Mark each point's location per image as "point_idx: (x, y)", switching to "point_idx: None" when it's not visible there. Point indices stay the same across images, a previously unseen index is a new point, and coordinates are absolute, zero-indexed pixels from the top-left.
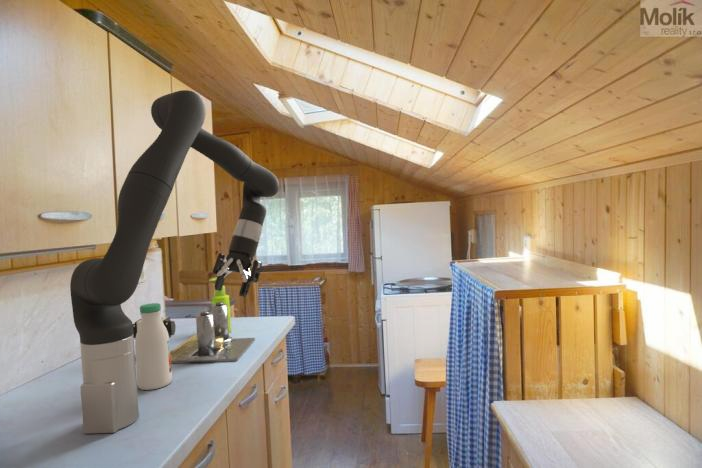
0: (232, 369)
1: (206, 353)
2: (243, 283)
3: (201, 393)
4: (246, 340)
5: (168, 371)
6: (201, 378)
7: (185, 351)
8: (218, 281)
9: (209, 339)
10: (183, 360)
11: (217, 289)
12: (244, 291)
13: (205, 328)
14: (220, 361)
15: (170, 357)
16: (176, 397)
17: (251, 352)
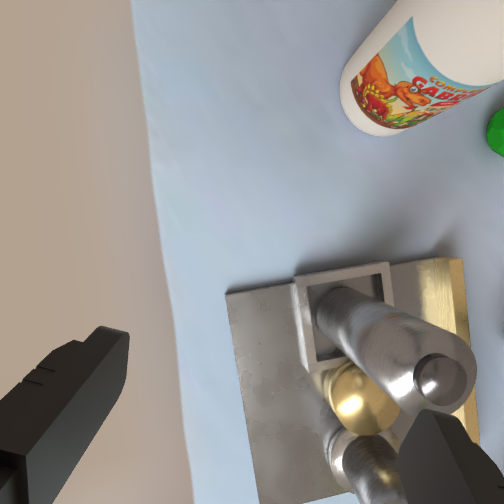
0: (204, 220)
1: (337, 293)
2: (14, 435)
3: (205, 32)
4: (279, 479)
5: (353, 73)
6: (266, 143)
7: None
8: (482, 502)
9: (346, 314)
10: (396, 264)
11: (423, 419)
12: (51, 360)
13: (379, 318)
14: (279, 284)
15: (376, 81)
16: (264, 4)
17: (214, 379)
